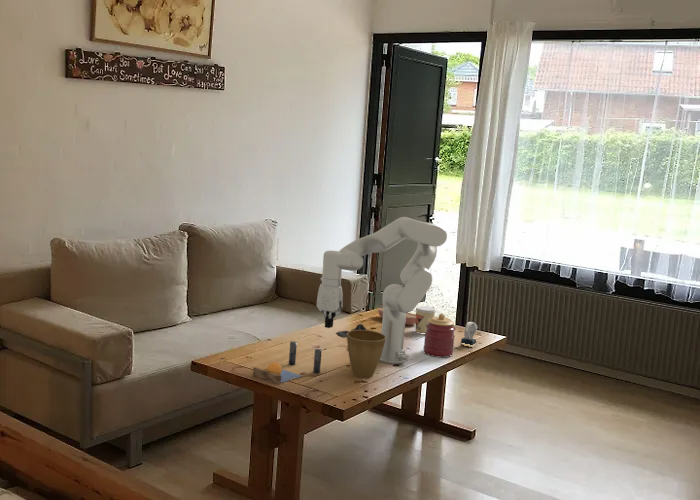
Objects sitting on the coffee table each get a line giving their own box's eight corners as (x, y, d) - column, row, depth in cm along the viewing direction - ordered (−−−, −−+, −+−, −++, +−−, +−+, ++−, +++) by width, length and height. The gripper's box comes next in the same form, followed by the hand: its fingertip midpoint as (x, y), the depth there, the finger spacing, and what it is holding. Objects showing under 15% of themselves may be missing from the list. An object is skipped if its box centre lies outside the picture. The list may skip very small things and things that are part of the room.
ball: (278, 382, 280) (286, 370, 283) (272, 373, 277) (280, 361, 279) (267, 378, 284) (276, 366, 286) (261, 369, 280) (270, 357, 283)
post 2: (321, 372, 292) (323, 349, 290) (317, 373, 290) (318, 351, 288) (316, 370, 293) (317, 348, 292) (311, 372, 291) (313, 349, 290)
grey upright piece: (477, 345, 350) (479, 321, 348) (470, 348, 343) (473, 324, 341) (465, 342, 352) (468, 319, 351) (459, 346, 345) (461, 322, 344)
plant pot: (335, 373, 292) (338, 332, 290) (362, 367, 303) (366, 328, 300) (363, 384, 282) (366, 342, 280) (390, 377, 292) (394, 337, 290)
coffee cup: (410, 330, 367) (413, 305, 366) (428, 330, 370) (430, 306, 369) (418, 335, 359) (420, 310, 357) (436, 335, 362) (438, 310, 360)
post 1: (296, 364, 299) (298, 342, 298) (292, 365, 297) (293, 343, 296) (291, 363, 301) (293, 340, 299) (287, 364, 299) (288, 342, 297)
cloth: (329, 336, 348) (330, 323, 347) (351, 329, 363) (352, 316, 362) (371, 346, 336) (372, 333, 335) (392, 338, 352) (393, 326, 351)
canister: (437, 359, 322) (441, 318, 320) (416, 350, 332) (420, 311, 330) (459, 355, 330) (463, 316, 327) (438, 347, 340) (442, 309, 337)
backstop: (280, 383, 275) (281, 375, 275) (278, 384, 274) (279, 376, 274) (254, 374, 283) (255, 367, 282) (252, 375, 282) (253, 367, 281)
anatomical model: (421, 325, 378) (422, 316, 378) (409, 328, 371) (410, 318, 370) (384, 316, 393) (385, 306, 392) (372, 318, 385) (373, 309, 384)
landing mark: (302, 376, 285) (302, 375, 285) (280, 383, 276) (280, 382, 276) (278, 368, 292) (278, 368, 292) (256, 374, 283) (256, 374, 283)
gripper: (310, 280, 302) (308, 325, 305) (340, 286, 293) (337, 332, 296) (322, 277, 308) (320, 322, 311) (352, 284, 299) (349, 329, 302)
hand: (328, 327), depth 303 cm, fingers closed
